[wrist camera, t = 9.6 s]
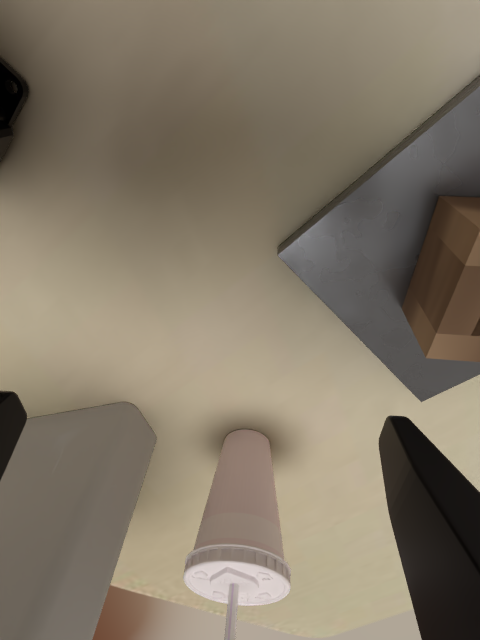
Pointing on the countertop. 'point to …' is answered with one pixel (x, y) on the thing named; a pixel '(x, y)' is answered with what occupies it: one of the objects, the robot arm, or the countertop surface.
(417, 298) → the wooden cubby with handle
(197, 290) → the countertop surface
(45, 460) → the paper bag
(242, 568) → the smoothie
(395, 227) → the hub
